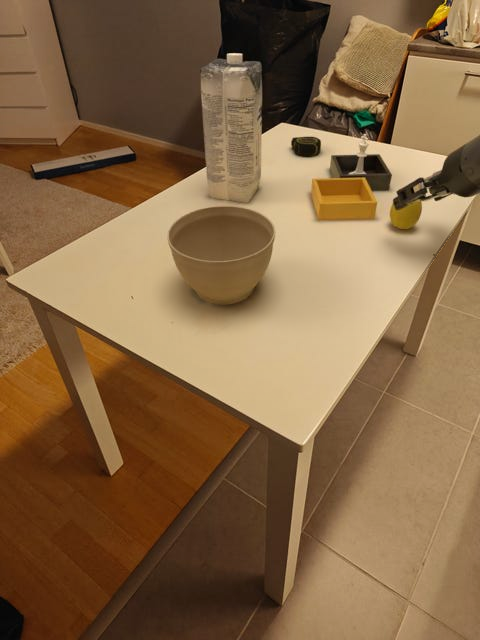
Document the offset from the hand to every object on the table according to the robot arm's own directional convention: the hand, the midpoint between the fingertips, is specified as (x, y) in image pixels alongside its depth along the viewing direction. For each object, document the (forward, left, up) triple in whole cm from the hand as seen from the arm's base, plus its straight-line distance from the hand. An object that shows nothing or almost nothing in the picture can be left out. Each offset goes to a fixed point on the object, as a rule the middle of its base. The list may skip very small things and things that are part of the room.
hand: (415, 200), depth 83 cm
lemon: (+1, -2, -7) cm, 7 cm away
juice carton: (+33, -18, -7) cm, 38 cm away
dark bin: (+5, -23, -7) cm, 24 cm away
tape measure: (+15, -40, -7) cm, 43 cm away
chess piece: (+5, -23, -7) cm, 24 cm away
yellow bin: (+11, -11, -7) cm, 17 cm away
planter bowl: (+35, +15, -7) cm, 39 cm away
